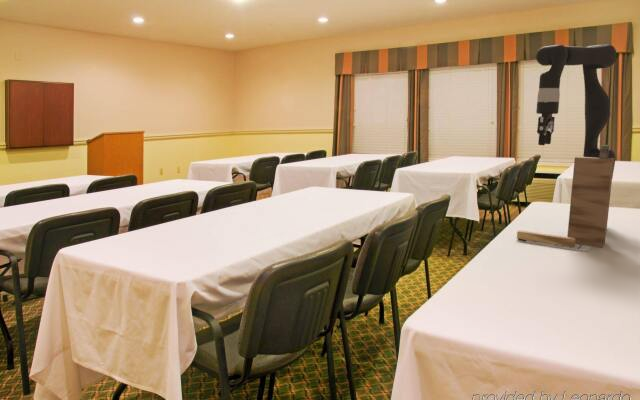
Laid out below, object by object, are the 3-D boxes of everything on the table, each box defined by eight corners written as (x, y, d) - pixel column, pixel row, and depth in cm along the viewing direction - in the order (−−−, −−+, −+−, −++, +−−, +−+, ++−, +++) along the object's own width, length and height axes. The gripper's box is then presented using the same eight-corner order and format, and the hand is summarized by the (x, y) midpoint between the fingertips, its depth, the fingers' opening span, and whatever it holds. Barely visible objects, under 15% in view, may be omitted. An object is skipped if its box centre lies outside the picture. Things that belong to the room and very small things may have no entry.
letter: (530, 238, 199) (530, 237, 199) (590, 247, 186) (591, 246, 186) (524, 242, 192) (524, 241, 192) (586, 251, 180) (586, 250, 180)
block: (519, 237, 199) (519, 230, 198) (575, 245, 187) (576, 238, 186) (516, 238, 197) (517, 231, 196) (573, 247, 185) (574, 239, 184)
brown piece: (569, 239, 197) (578, 144, 191) (605, 244, 190) (615, 145, 184) (566, 242, 193) (575, 144, 186) (602, 247, 186) (613, 146, 179)
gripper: (542, 101, 199) (539, 143, 202) (532, 100, 188) (528, 145, 191) (563, 101, 195) (559, 144, 197) (554, 100, 183) (550, 146, 186)
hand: (544, 144), depth 194 cm, fingers open, 8 cm apart
